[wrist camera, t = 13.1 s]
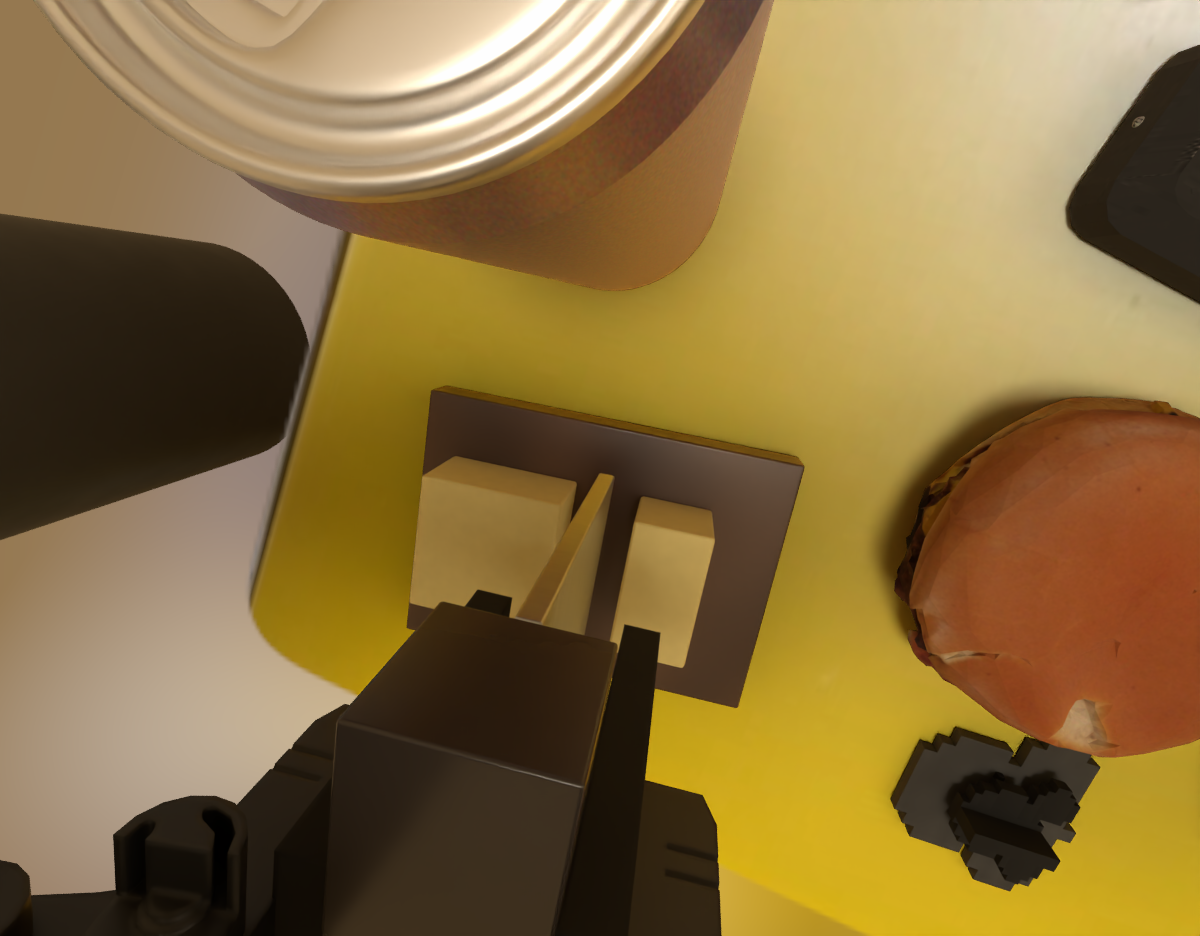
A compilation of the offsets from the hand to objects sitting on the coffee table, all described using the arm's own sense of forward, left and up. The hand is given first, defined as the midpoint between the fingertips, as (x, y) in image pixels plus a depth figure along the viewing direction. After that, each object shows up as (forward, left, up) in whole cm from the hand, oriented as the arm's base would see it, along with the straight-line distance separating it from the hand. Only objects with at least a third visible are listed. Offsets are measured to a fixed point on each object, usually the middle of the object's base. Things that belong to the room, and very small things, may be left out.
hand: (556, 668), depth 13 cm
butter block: (-3, 0, -7) cm, 8 cm away
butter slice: (+2, 0, -7) cm, 7 cm away
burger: (+13, +3, -8) cm, 16 cm away
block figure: (+14, -6, -8) cm, 18 cm away
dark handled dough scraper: (0, 0, -3) cm, 3 cm away
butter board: (0, 0, -8) cm, 8 cm away
